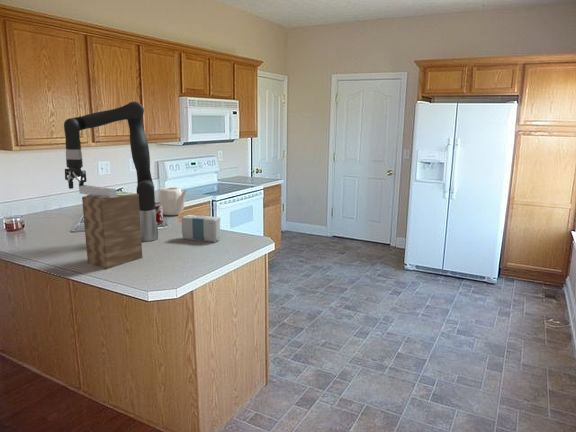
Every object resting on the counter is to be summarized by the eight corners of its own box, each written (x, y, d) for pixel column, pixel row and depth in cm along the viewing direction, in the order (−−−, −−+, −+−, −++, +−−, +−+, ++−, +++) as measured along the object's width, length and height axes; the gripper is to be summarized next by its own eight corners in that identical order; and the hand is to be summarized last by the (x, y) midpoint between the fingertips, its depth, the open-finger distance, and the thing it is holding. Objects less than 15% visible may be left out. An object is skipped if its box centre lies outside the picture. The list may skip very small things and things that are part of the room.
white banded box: (181, 239, 250) (180, 205, 246) (189, 236, 258) (187, 202, 253) (215, 243, 244) (214, 207, 240) (221, 239, 252) (221, 205, 247)
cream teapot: (179, 218, 303) (178, 191, 299) (152, 214, 316) (150, 187, 312) (195, 214, 316) (194, 188, 312) (168, 210, 329) (167, 185, 325)
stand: (87, 263, 207) (81, 196, 200) (123, 253, 224) (119, 190, 217) (107, 268, 200) (101, 199, 193) (142, 257, 217) (138, 193, 210)
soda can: (152, 224, 285) (151, 206, 282) (152, 222, 291) (151, 204, 288) (163, 224, 286) (162, 205, 284) (163, 221, 293) (162, 204, 290)
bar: (79, 193, 207) (78, 185, 207) (86, 192, 210) (85, 185, 210) (109, 198, 196) (109, 190, 195) (116, 196, 199) (116, 189, 198)
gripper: (58, 157, 227) (61, 188, 231) (76, 159, 220) (78, 191, 224) (72, 156, 234) (74, 187, 237) (89, 158, 227) (91, 190, 230)
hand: (76, 189), depth 230 cm, fingers open, 8 cm apart
